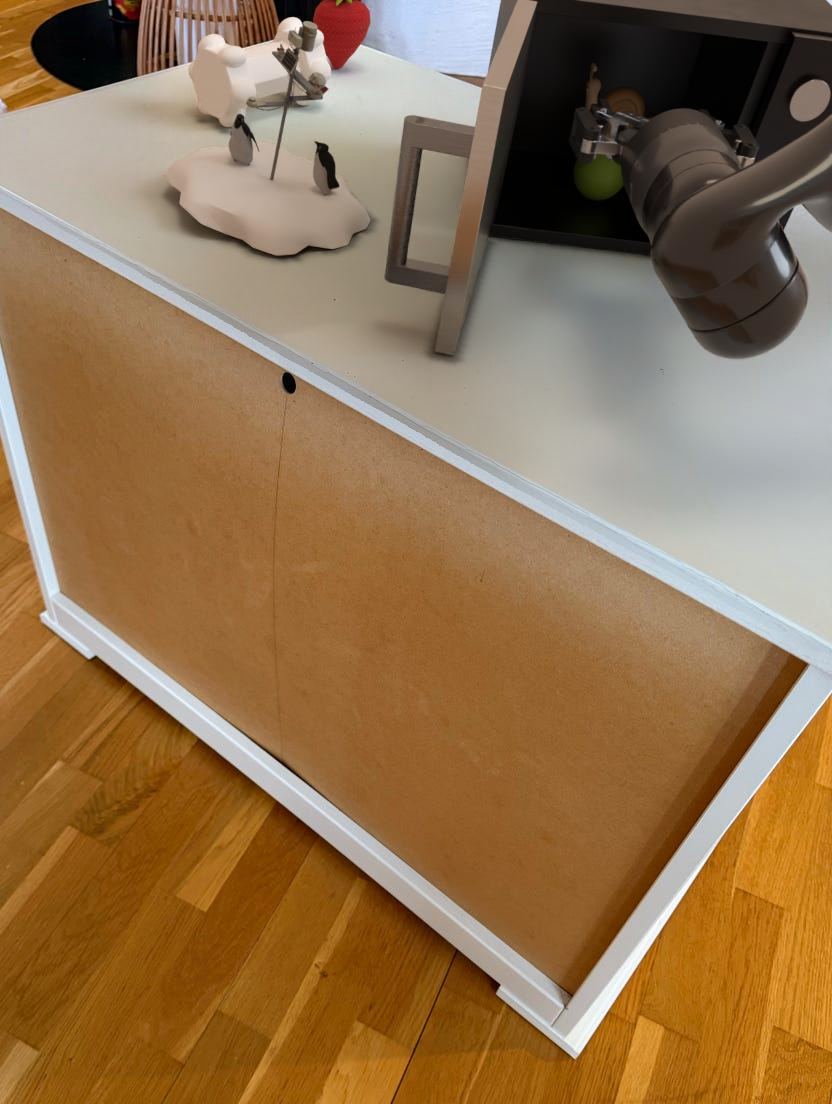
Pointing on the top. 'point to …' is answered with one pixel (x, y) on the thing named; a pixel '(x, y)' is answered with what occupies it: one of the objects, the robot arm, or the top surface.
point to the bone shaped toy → (249, 72)
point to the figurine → (271, 179)
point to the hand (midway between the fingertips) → (647, 116)
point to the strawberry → (342, 28)
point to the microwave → (652, 95)
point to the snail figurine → (603, 172)
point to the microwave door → (480, 186)
